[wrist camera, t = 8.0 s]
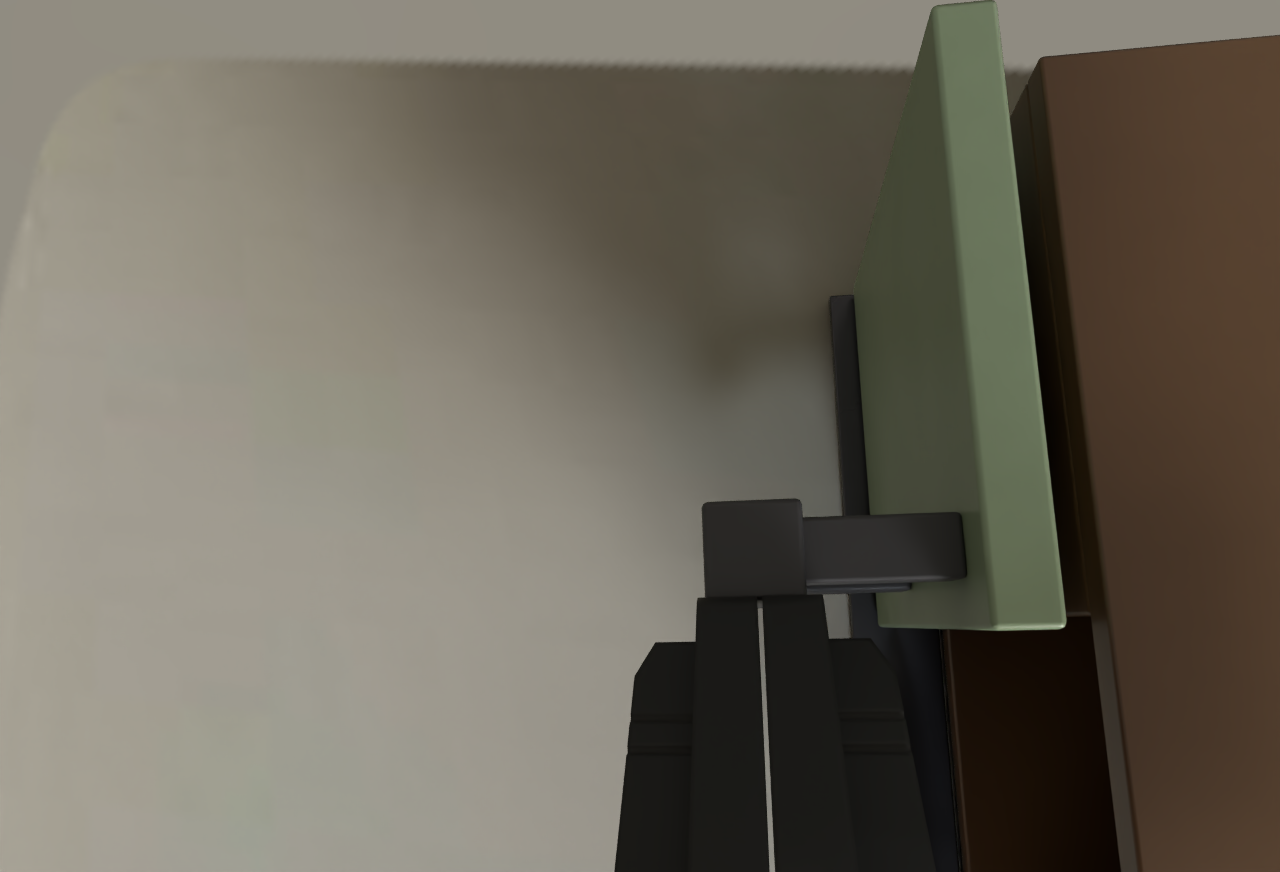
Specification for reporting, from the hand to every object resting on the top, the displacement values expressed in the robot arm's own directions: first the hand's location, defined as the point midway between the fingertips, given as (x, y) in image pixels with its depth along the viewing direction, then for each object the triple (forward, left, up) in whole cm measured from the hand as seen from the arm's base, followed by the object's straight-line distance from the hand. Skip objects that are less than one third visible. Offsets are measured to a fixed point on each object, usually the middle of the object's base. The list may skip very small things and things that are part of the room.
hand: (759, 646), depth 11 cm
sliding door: (+3, +3, -9) cm, 10 cm away
